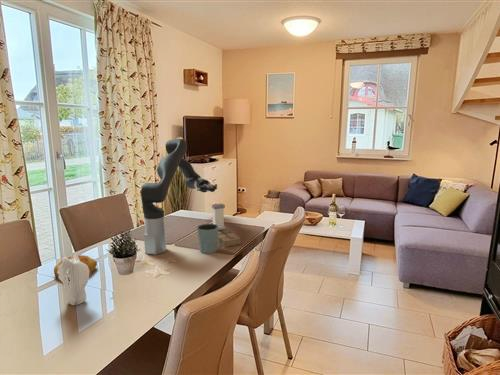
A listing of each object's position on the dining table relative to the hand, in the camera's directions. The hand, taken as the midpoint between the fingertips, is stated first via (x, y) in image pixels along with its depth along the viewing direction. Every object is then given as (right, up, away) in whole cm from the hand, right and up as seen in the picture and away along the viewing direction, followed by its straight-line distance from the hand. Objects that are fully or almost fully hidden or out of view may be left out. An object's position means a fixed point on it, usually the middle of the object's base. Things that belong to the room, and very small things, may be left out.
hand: (212, 190), depth 181 cm
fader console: (+7, -26, -7) cm, 28 cm away
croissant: (-51, -34, -47) cm, 78 cm away
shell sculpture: (-40, -38, -68) cm, 88 cm away
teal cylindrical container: (0, -29, -23) cm, 37 cm away
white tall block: (+3, -21, -2) cm, 22 cm away
